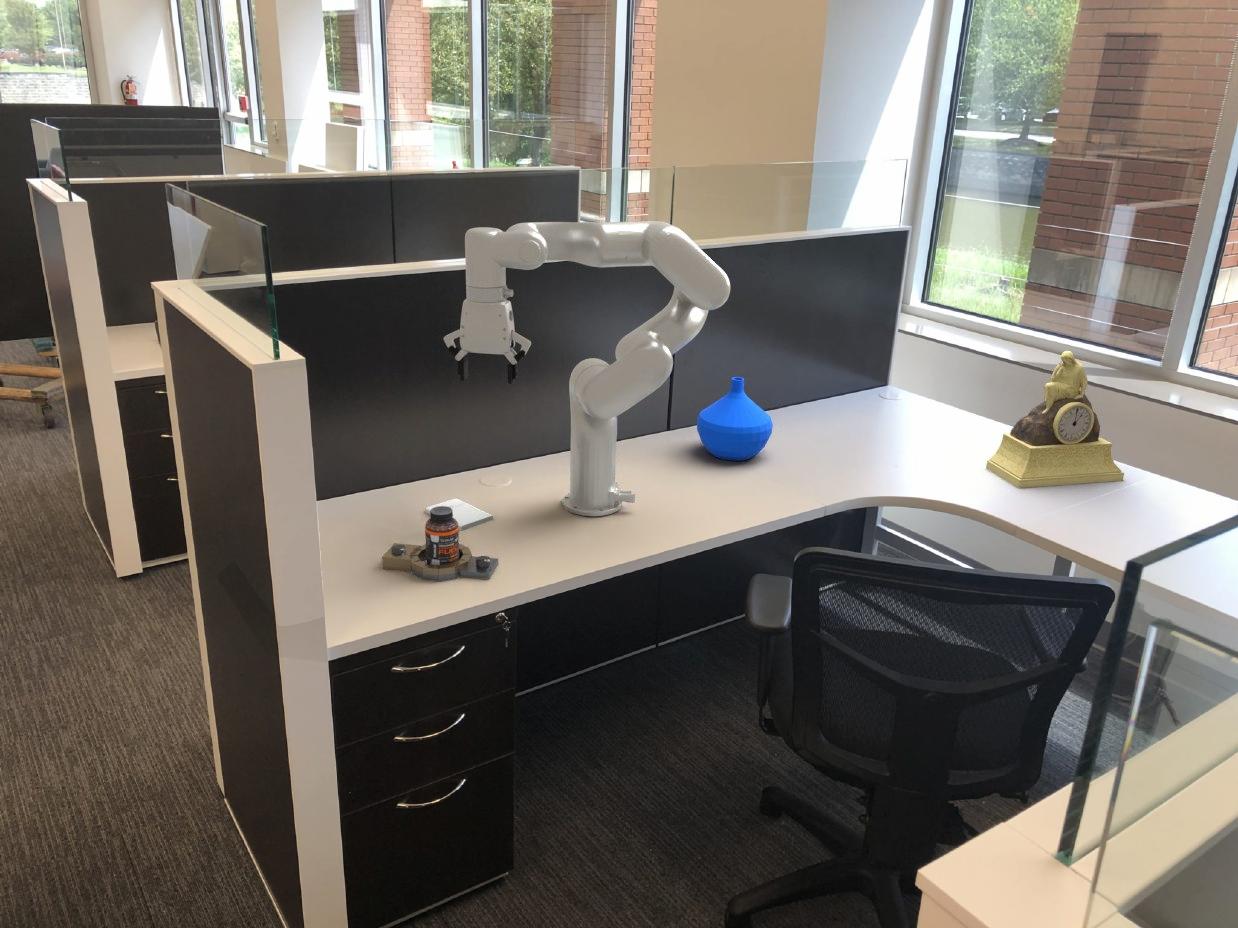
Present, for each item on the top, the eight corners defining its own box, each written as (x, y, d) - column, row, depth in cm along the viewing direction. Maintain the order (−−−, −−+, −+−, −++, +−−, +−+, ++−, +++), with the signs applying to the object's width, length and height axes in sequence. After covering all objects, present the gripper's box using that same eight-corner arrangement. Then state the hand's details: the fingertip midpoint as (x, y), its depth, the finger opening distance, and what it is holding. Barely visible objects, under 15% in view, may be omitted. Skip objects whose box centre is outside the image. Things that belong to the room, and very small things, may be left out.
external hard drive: (461, 533, 192) (424, 514, 201) (493, 522, 198) (457, 504, 206) (461, 526, 192) (424, 507, 200) (493, 514, 197) (457, 497, 205)
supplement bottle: (440, 577, 174) (437, 519, 170) (419, 566, 177) (417, 509, 173) (466, 566, 178) (464, 510, 174) (445, 556, 182) (443, 500, 178)
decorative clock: (1018, 488, 222) (1042, 361, 212) (985, 468, 234) (1007, 347, 223) (1122, 481, 229) (1150, 357, 218) (1085, 461, 241) (1111, 344, 230)
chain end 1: (478, 556, 182) (478, 541, 181) (460, 583, 172) (460, 568, 171) (399, 548, 184) (398, 534, 183) (377, 574, 174) (376, 559, 173)
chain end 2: (502, 558, 181) (501, 546, 180) (485, 585, 171) (485, 573, 170) (422, 550, 183) (421, 539, 182) (401, 577, 173) (400, 565, 172)
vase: (748, 438, 249) (753, 366, 243) (783, 462, 233) (790, 386, 227) (683, 445, 243) (687, 371, 236) (715, 470, 227) (720, 392, 220)
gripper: (534, 293, 187) (535, 378, 194) (448, 288, 190) (451, 372, 196) (525, 300, 181) (526, 389, 187) (436, 295, 183) (439, 382, 189)
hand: (488, 380), depth 191 cm, fingers open, 9 cm apart
